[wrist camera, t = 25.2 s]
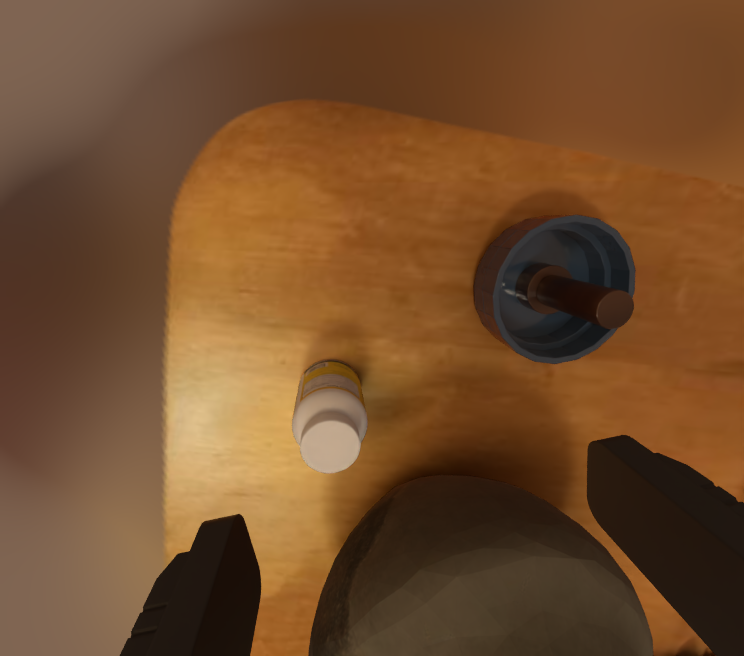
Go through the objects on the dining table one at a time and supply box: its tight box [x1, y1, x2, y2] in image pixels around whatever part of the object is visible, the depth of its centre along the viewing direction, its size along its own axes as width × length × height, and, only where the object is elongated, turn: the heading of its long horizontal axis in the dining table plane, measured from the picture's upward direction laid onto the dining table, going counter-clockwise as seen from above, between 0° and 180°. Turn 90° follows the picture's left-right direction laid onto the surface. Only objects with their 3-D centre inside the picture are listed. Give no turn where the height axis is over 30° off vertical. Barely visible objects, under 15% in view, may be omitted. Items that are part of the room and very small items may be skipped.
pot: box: [309, 475, 653, 656], centre depth 35 cm, size 29×32×25 cm
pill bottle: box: [292, 360, 367, 473], centre depth 34 cm, size 6×6×12 cm
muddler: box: [515, 263, 634, 329], centre depth 33 cm, size 5×5×11 cm
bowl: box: [474, 215, 635, 364], centre depth 37 cm, size 14×14×6 cm
